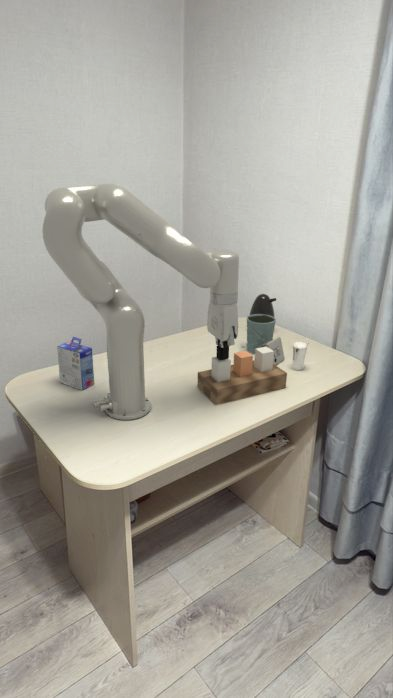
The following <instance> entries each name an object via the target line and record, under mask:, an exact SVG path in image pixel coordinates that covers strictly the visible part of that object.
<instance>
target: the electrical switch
mask: <svg viewBox="0 0 393 698" xmlns="http://www.w3.org/2000/svg"><path fill="white" fill-rule="evenodd" d="M261 347H268V348H270V349H271V350H273V351H274V358H273V364H274V365H276V366H277V365H279V364H280V363H282V362H283V361H284V360H285V354H284V353H285V352H284V348H283V343H282V338H281V336H277V337H276V338H273V339H271V340H270V341H268V342H266V343H264V344H263V345H262V346H261Z"/></svg>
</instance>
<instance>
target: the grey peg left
mask: <svg viewBox="0 0 393 698" xmlns="http://www.w3.org/2000/svg"><path fill="white" fill-rule="evenodd" d="M231 362H232V361H231V359H230V358H228V359H224V360H219V359H217V357H216V356H214V357H213V356H212V357H211V369H212V371H211V377H212V378H213V379H214V380H215V381H217V382H221V381H226V380H230V367H231V365H232V363H231Z"/></svg>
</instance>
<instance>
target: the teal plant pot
mask: <svg viewBox="0 0 393 698" xmlns="http://www.w3.org/2000/svg"><path fill="white" fill-rule="evenodd" d="M276 321H277V319H276V317H275V318H274V317H273V316H270V315H265V314H253V315H250V314H249V315H248V316H247V317H246V327H247V329H246V349H247V350H246V351H247V352H248V353H250V354H252V355H255V349H257V348H262V347H261V346H262V345H263V344H264V343H266V342H268V341H270V340H271V339H274V332H275V325H276V323H277V322H276Z"/></svg>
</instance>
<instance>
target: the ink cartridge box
mask: <svg viewBox="0 0 393 698" xmlns="http://www.w3.org/2000/svg"><path fill="white" fill-rule="evenodd" d="M74 341H77V342H78V343H77V342H74ZM56 350H57V361H58V362H57V363H58V373H59V382H60V383H61V384H64V385H68V386H70V387H72V388H76V389H78V390H82V391H83V390H85V389H87V388H89V387H92V386H94V385H95V372H94V360H93V359H94V358H93V347H90V346H87V345H84V344H82V338H79V337H75V336H72V339H71V340H70V341H67V342H63V343H62V344H60V345H57V346H56Z"/></svg>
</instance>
